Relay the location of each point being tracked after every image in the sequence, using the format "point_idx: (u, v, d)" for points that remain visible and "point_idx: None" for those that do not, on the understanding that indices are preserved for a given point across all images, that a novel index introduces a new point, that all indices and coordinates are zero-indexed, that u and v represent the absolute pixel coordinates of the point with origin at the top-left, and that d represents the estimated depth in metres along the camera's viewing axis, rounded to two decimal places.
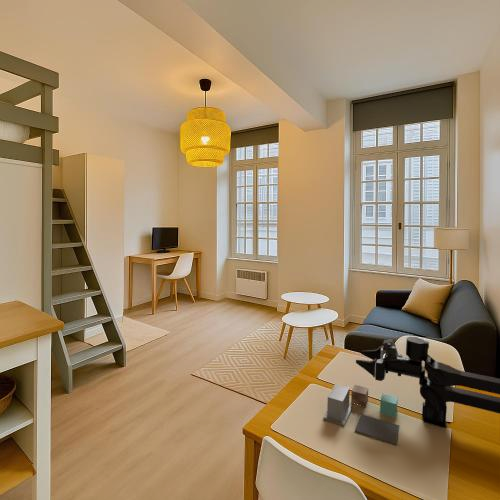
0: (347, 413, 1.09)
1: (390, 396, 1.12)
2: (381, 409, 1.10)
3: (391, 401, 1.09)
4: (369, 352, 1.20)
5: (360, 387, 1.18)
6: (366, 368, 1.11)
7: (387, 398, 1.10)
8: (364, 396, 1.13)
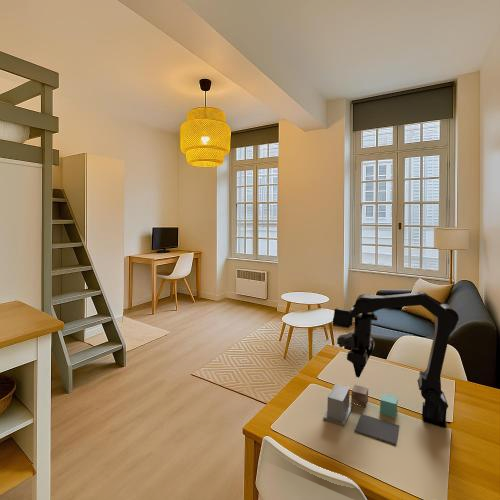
0: (347, 413, 1.09)
1: (390, 396, 1.12)
2: (381, 409, 1.10)
3: (391, 401, 1.09)
4: None
5: (360, 387, 1.18)
6: (360, 368, 1.09)
7: (387, 398, 1.10)
8: (364, 396, 1.13)
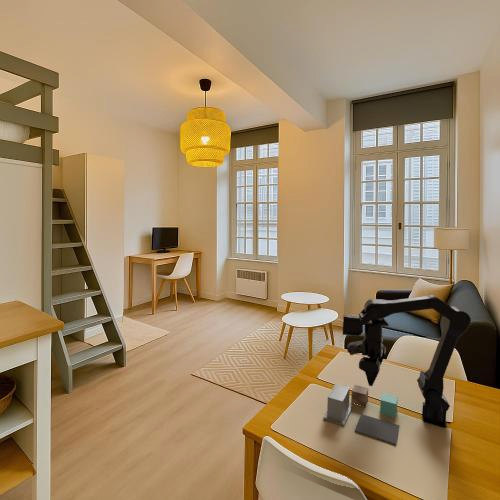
0: (347, 413, 1.09)
1: (390, 396, 1.12)
2: (381, 409, 1.10)
3: (391, 401, 1.09)
4: None
5: (360, 387, 1.18)
6: (373, 377, 1.05)
7: (387, 398, 1.10)
8: (364, 396, 1.13)
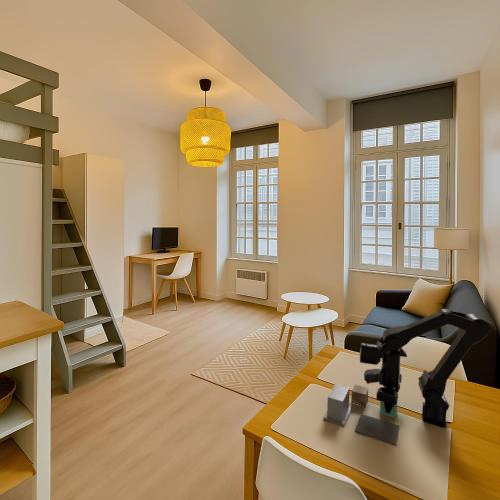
0: (347, 413, 1.09)
1: None
2: (381, 409, 1.10)
3: None
4: None
5: (360, 387, 1.18)
6: (391, 405, 1.07)
7: None
8: (364, 396, 1.13)
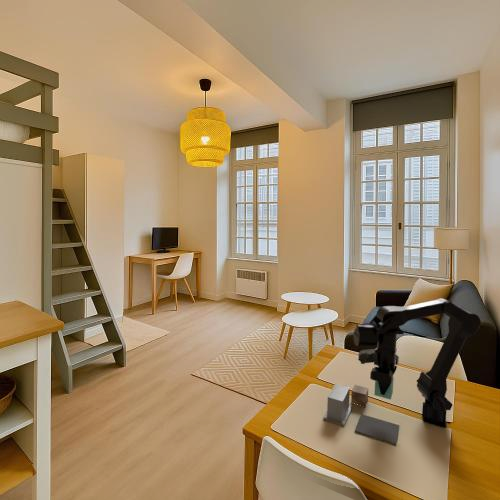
0: (347, 413, 1.09)
1: None
2: (376, 390, 1.05)
3: None
4: None
5: (360, 387, 1.18)
6: (386, 385, 1.01)
7: None
8: (364, 396, 1.13)
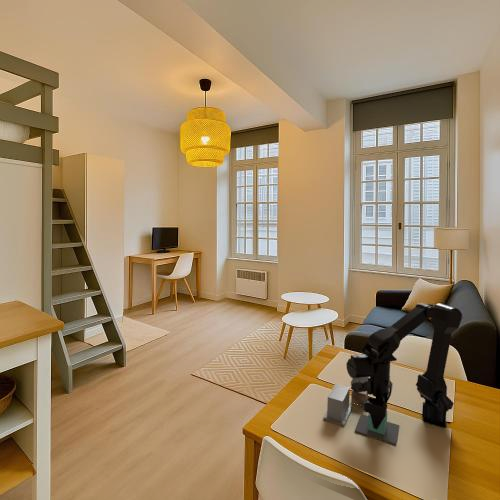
0: (347, 413, 1.09)
1: None
2: (369, 425, 1.01)
3: None
4: None
5: None
6: (379, 420, 0.96)
7: None
8: (364, 396, 1.13)
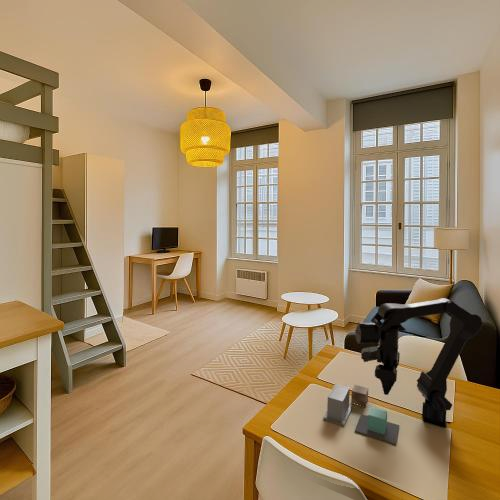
0: (347, 413, 1.09)
1: (379, 410, 1.03)
2: (369, 425, 1.01)
3: (380, 416, 1.00)
4: None
5: (360, 387, 1.18)
6: (389, 385, 1.00)
7: (375, 413, 1.01)
8: (364, 396, 1.13)
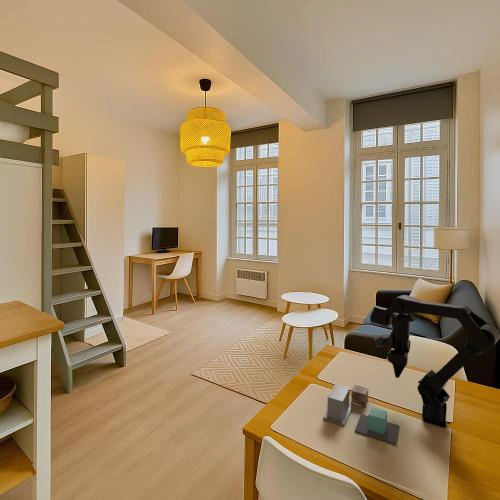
0: (347, 413, 1.09)
1: (379, 410, 1.03)
2: (369, 425, 1.01)
3: (380, 416, 1.00)
4: None
5: (360, 387, 1.18)
6: (400, 369, 1.09)
7: (375, 413, 1.01)
8: (364, 396, 1.13)
